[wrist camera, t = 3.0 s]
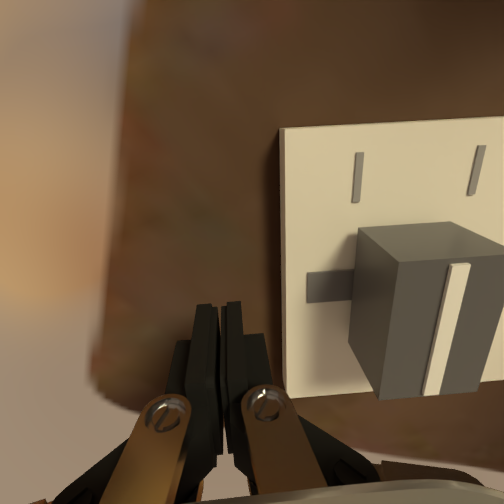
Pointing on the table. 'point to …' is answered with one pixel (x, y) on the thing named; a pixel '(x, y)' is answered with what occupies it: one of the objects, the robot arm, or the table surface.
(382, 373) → the fader knob
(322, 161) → the fader console
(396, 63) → the table surface
